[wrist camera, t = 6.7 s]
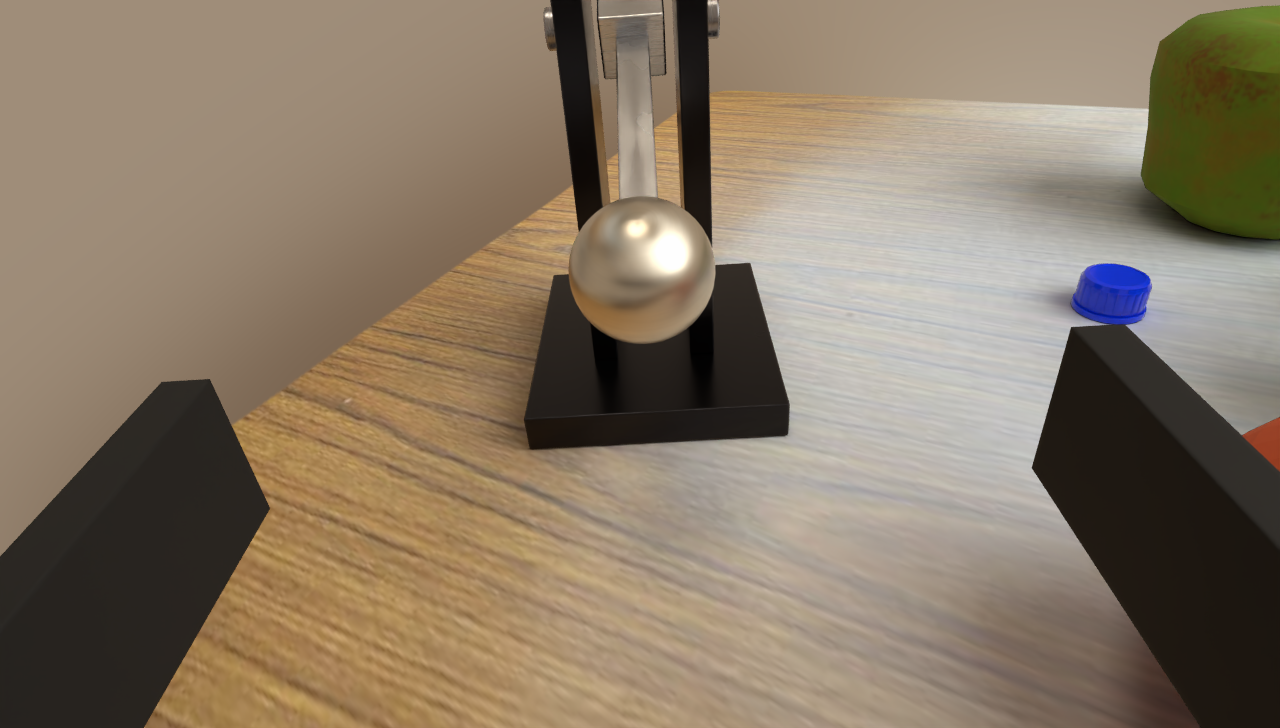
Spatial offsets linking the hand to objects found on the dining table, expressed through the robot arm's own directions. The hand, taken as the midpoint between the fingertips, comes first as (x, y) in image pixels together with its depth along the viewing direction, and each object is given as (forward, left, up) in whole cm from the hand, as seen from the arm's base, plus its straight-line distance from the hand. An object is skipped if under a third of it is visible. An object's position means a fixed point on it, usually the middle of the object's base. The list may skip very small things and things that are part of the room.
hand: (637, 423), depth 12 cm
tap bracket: (0, +19, -11) cm, 22 cm away
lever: (0, +15, -1) cm, 15 cm away
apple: (+33, +30, -11) cm, 46 cm away
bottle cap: (+21, +21, -11) cm, 32 cm away
